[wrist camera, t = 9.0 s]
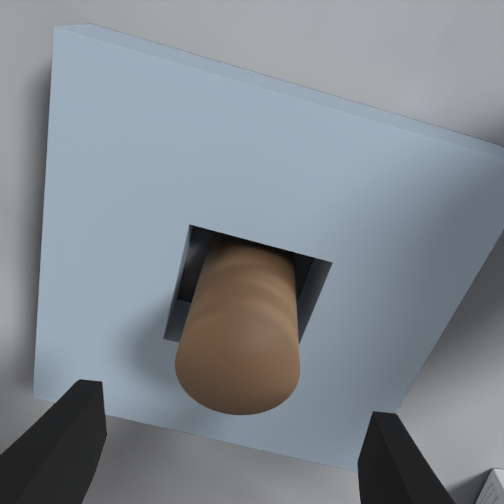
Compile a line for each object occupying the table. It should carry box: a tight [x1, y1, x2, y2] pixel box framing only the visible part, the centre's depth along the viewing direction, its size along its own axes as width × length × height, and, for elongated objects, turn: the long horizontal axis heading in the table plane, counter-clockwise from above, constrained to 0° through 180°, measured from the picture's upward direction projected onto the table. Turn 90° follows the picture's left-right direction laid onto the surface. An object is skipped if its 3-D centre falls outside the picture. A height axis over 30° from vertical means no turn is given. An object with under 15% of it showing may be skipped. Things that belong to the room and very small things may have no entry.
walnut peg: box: [175, 232, 300, 415], centre depth 18 cm, size 4×4×7 cm
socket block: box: [33, 24, 504, 472], centre depth 20 cm, size 16×16×3 cm
